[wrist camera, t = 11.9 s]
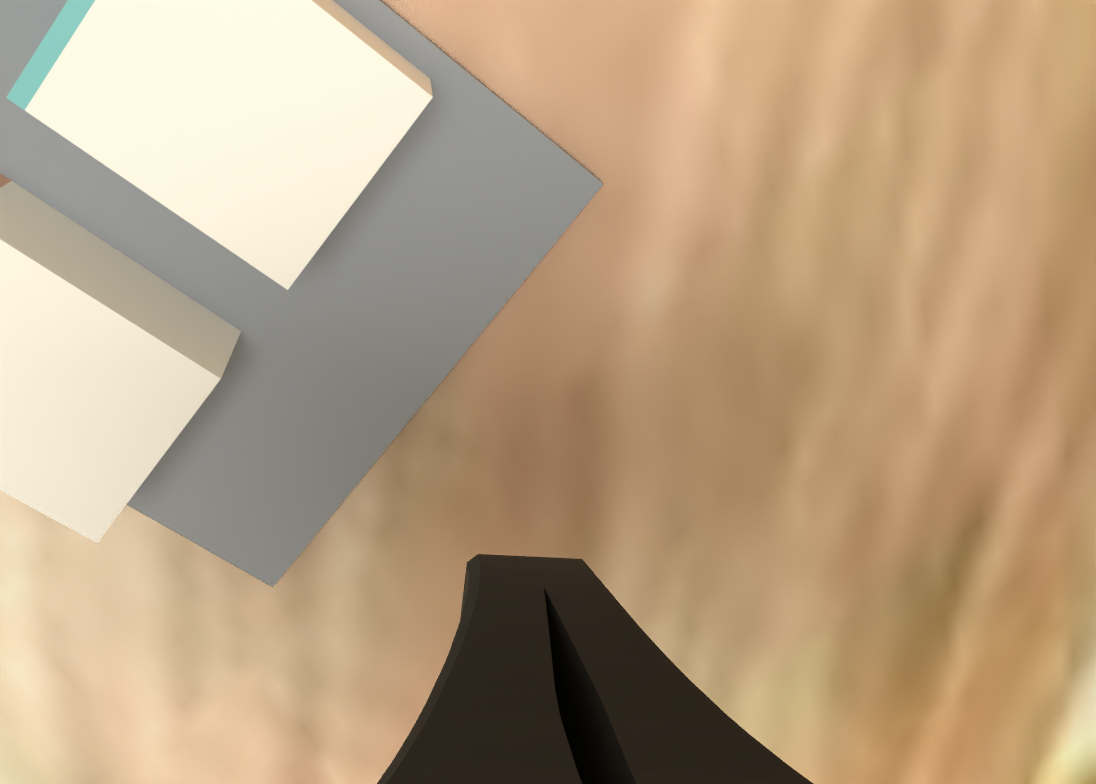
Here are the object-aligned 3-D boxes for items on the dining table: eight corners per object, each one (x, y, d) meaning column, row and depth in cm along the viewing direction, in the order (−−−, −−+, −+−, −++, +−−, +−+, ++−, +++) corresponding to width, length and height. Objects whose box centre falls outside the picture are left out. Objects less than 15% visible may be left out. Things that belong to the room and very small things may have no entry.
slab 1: (433, 97, 17) (149, -129, 15) (287, 290, 18) (5, 97, 16) (430, 78, 19) (183, -121, 17) (301, 250, 20) (55, 78, 18)
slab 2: (220, 378, 18) (-60, 201, 16) (97, 543, 19) (-181, 391, 17) (241, 331, 20) (-4, 170, 18) (129, 480, 21) (-114, 340, 19)
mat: (599, 179, 20) (603, 184, 20) (274, 577, 23) (272, 587, 22) (18, -299, 16) (9, -304, 16) (-297, 250, 19) (-312, 257, 18)
